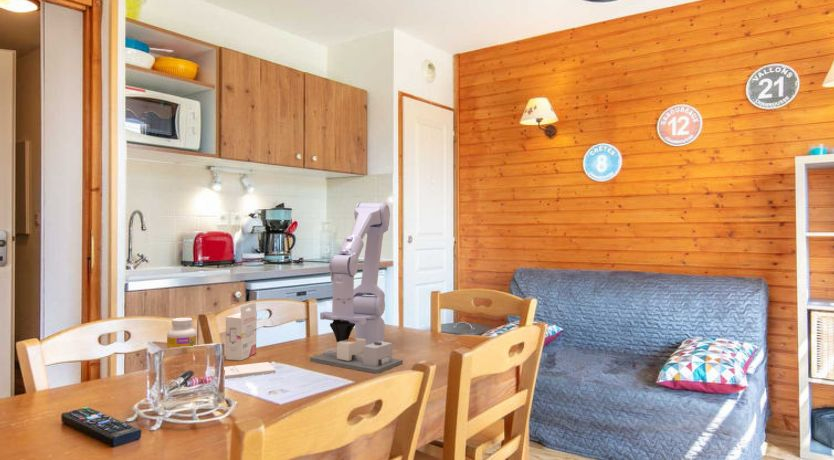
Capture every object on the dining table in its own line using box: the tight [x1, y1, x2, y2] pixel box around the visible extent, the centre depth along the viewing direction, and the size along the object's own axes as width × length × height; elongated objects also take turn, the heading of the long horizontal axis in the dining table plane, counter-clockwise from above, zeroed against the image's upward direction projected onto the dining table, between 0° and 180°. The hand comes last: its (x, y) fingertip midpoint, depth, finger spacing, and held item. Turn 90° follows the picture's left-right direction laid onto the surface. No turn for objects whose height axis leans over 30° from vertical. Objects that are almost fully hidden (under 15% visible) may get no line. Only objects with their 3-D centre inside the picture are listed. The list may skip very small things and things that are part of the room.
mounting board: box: [309, 352, 404, 375], centre depth 146 cm, size 12×22×1 cm, turn 59°
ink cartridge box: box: [225, 302, 258, 361], centre depth 150 cm, size 9×5×15 cm, turn 168°
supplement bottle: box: [166, 317, 197, 348], centre depth 136 cm, size 7×7×13 cm
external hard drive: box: [223, 361, 276, 380], centre depth 135 cm, size 2×8×12 cm
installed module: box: [363, 341, 393, 367], centre depth 143 cm, size 8×4×5 cm, turn 149°
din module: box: [336, 337, 366, 361], centre depth 147 cm, size 8×4×5 cm, turn 149°
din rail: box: [324, 347, 389, 365], centre depth 146 cm, size 4×19×2 cm, turn 59°
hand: (342, 348), depth 149 cm, fingers closed
